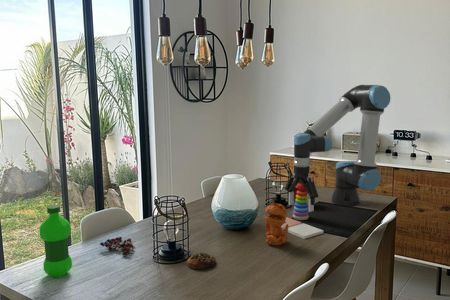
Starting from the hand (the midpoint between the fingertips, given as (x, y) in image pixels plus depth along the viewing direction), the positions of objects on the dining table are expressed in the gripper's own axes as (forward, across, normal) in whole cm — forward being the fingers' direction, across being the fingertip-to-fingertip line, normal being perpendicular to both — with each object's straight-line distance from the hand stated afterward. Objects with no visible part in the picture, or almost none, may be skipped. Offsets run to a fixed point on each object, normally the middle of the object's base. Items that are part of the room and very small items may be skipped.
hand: (300, 207), depth 213 cm
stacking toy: (+6, 0, 0) cm, 6 cm away
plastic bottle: (+6, -7, -114) cm, 114 cm away
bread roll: (+6, +16, -68) cm, 70 cm away
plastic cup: (+6, -16, +15) cm, 23 cm away
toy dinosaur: (+6, +17, -32) cm, 37 cm away
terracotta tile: (+5, +2, -13) cm, 14 cm away
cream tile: (+5, +15, -13) cm, 21 cm away
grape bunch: (+6, -16, -87) cm, 89 cm away
